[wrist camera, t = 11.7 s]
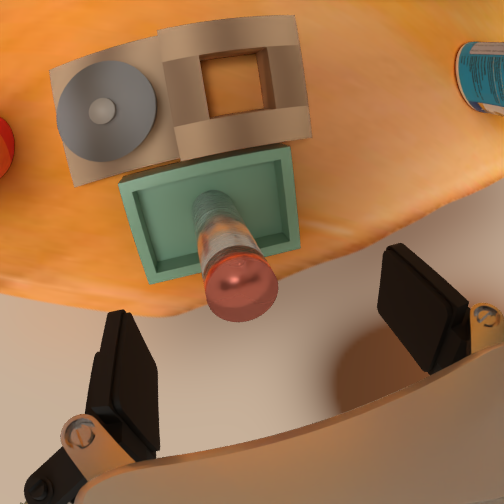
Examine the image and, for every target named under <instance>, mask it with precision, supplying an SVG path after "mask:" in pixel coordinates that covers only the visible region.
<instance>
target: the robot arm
mask: <svg viewBox="0 0 504 504" xmlns="http://www.w3.org/2000/svg"><path fill="white" fill-rule="evenodd" d="M468 304H469V301H467V300H466V299H465V298H464V297H463V296H462V295H461V294H460V293H459V292H458V291H457V290H456V289H454V288H453V287H452V286H451V285H450V284H449V283H448V282H447V281H446V280H445V279H444V278H442V277H441V276H440V275H439V274H438V273H437V272H436V271H434V270H433V269H432V268H431V267H430V266H429V265H427V264H426V263H425V262H424V261H423V260H422V259H421V258H419V257H418V256H417V255H416V254H415V253H413V252H412V251H411V250H410V249H409V248H407V247H406V246H405V245H404V244H402V243H398V244H395V245H391V246H388V247H387V248H386V251H384V253H383V260H382V270H381V279H380V288H379V296H378V303H377V308H378V312H379V314H380V315H381V316H382V318H383V319H384V321H385V322H386V323H387V324H388V326H389V327H390V328H391V329H392V331H393V332H394V333H395V335H396V336H397V337H398V338H399V340H400V341H401V342H402V344H403V345H404V346H405V348H406V349H407V350H408V351H409V353H410V354H411V355H412V357H413V358H414V360H415V361H416V362H417V363H418V365H419V366H420V367H421V369H422V370H423V371H424V372H428V374H429V375H430V376H428V377H426V378H424V379H422V380H421V381H418V382H416V383H414V384H412V385H410V386H408V387H405V388H403V389H401V390H399V391H397V392H395V393H392V394H390V395H388V396H385V397H383V398H380V399H378V400H376V401H373V402H371V403H368V404H366V405H363V406H361V407H358V408H356V409H353V410H350V411H348V412H345V413H342V414H339V415H337V416H334V417H331V418H328V419H325V420H322V421H319V422H316V423H313V424H310V425H307V426H304V427H300V428H297V429H293V430H290V431H287V432H283V433H279V434H276V435H272V436H268V437H265V438H260V439H257V440H252V441H248V442H244V443H239V444H235V445H230V446H225V447H220V448H215V449H210V450H205V451H199V452H194V453H188V454H182V455H175V456H168V457H162V458H157V459H156V451H159V450H160V437H159V412H158V371H157V366H156V363H155V361H154V359H153V357H152V356H151V353H150V352H149V350H148V347H147V345H146V343H145V341H144V340H143V337H142V335H141V333H140V331H139V329H138V327H137V325H136V323H135V321H134V318H133V316H132V314H131V313H130V312H129V313H126V311H125V310H118V311H113V312H109V313H108V315H107V319H106V324H105V329H104V333H103V338H102V342H101V348H100V352H97V353H96V354H95V357H94V362H93V367H92V372H91V378H90V384H89V390H88V396H87V402H86V409H85V414H80V415H77V416H74V417H72V418H71V419H69V420H68V421H67V422H66V423H65V425H64V426H63V428H62V431H61V435H60V437H61V443H62V445H63V446H62V447H61V448H60V449H59V450H58V451H57V452H56V453H55V454H54V455H53V456H52V457H50V458H49V460H47V461H46V462H45V463H44V464H43V465H42V466H41V467H40V468H38V469H37V470H36V471H35V472H34V473H33V474H32V475H31V476H30V477H29V478H28V479H27V481H26V483H25V487H24V495H25V498H26V502H25V503H24V504H504V316H503V314H502V312H501V311H500V310H499V309H498V308H496V307H495V306H493V305H491V304H488V303H478V304H476V305H474V306H473V307H472V308H471V309H470V308H469V307H468ZM20 504H23V503H20Z"/></svg>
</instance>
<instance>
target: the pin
mask: <svg viewBox="0 0 504 504" xmlns="http://www.w3.org/2000/svg"><path fill="white" fill-rule="evenodd" d="M192 218H193V224H194V230H195V237H196V242H197V248H198V254H199V260H200V266H201V271H202V277H203V282H204V288H205V293H206V298H207V303H208V305H209V307H210V309H211V310H212V312H213V313H214V314H215V315H217V316H218V317H220V318H222V319H224V320H227V321H231V322H244V321H249V320H253V319H255V318H257V317H259V316H261V315H262V314H264V313H265V312H266V311H267V310H268V309H269V308H270V307H271V306H272V304H273V303H274V301H275V299H276V297H277V293H278V282H277V278H276V276H275V274H274V272H273V271H272V269H271V267H270V266H269V264H268V262H267V260H266V259H265V257H264V255H263V254H262V252H261V250H260V248H259V247H258V245H257V243H256V242H255V240H254V238H253V236H252V235H251V233H250V231H249V230H248V228H247V226H246V224H245V223H244V221H243V219H242V218H241V216H240V214H239V213H238V211H237V209H236V207H235V206H234V204H233V202H232V201H231V199H230V198H229V196H228V195H226V194H225V193H223V192H221V191H218V190H209V191H206V192H203V193H202V194H200V195H199V196H198V197H197V198H196V199H195V201H194V203H193V205H192Z"/></svg>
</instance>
